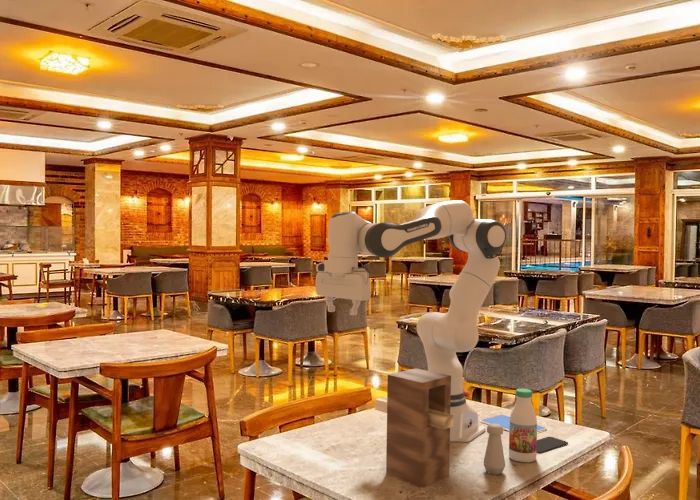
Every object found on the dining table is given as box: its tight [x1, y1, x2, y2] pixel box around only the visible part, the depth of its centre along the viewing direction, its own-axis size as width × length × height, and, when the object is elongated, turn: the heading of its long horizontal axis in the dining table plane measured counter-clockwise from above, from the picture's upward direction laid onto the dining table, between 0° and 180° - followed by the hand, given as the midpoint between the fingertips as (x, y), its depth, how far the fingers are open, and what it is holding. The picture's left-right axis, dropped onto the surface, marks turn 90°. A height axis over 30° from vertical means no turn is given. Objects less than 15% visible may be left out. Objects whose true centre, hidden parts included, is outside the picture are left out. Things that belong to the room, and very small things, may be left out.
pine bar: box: [374, 396, 453, 430], centre depth 167 cm, size 4×24×3 cm, turn 45°
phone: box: [536, 436, 569, 454], centre depth 191 cm, size 7×1×15 cm
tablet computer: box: [479, 414, 548, 433], centre depth 210 cm, size 19×13×1 cm, turn 37°
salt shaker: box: [483, 424, 506, 476], centre depth 169 cm, size 6×6×13 cm
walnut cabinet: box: [385, 367, 451, 488], centre depth 166 cm, size 12×12×27 cm
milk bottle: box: [508, 388, 538, 463], centre depth 179 cm, size 8×8×20 cm
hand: (342, 313), depth 182 cm, fingers open, 8 cm apart
